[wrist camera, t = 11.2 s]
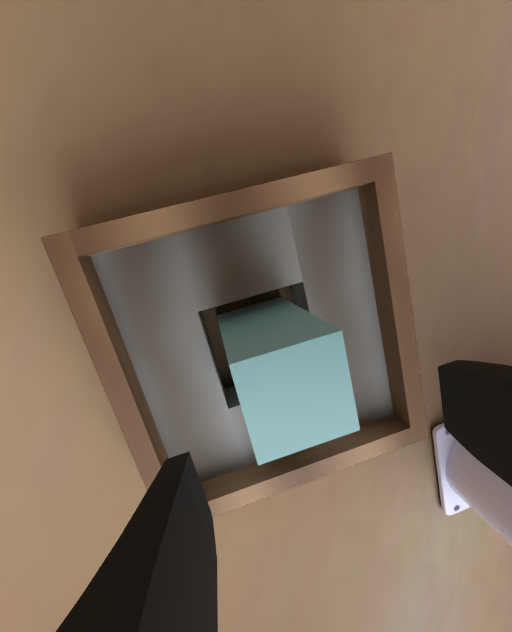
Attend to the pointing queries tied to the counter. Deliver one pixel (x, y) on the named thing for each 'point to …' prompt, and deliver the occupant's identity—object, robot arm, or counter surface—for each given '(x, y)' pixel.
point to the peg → (288, 377)
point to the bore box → (235, 284)
